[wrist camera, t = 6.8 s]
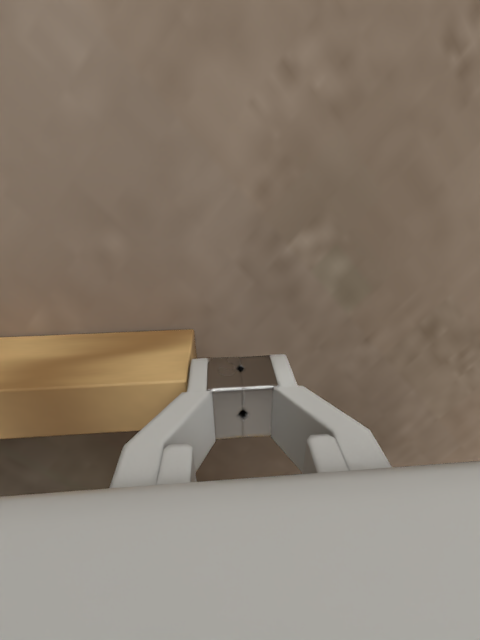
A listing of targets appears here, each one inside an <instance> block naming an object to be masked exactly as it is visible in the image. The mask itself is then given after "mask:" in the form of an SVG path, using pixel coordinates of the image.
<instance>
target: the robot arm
mask: <svg viewBox="0 0 480 640" xmlns="http://www.w3.org/2000/svg"><path fill="white" fill-rule="evenodd" d="M258 436H271V438H272V439H273V440H274V441H275V442H276V444H277V445H278V446H279V447H280V448H281V449H282V450H283V451H284V453H285V454H286V455H287V456H288V457H289V458H290V459H291V460H292V462H293V463H294V464H295V465H296V466H297V467H298V468H299V469H300V471H301V472H302V474H295V475H282V476H268V477H255V478H242V479H228V480H215V481H202V482H197V481H196V471H197V470H198V468H199V467H200V465H201V464H202V462H203V460H204V459H205V457H206V456H207V454H208V452H209V451H210V449H211V448H212V446H213V445H214V443H215V440H217V439H228V438H239V437H258ZM0 640H480V461H471V462H458V463H445V464H432V465H418V466H405V467H391V465H390V463H389V461H388V460H387V458H386V456H385V455H384V453H383V451H382V450H381V448H380V446H379V444H378V443H377V441H376V439H375V438H374V436H373V434H372V433H371V431H370V430H369V429H368V428H366V427H365V426H363V425H362V424H360V423H359V422H357V421H355V420H354V419H352V418H351V417H349V416H348V415H346V414H345V413H343V412H342V411H340V410H339V409H337V408H336V407H334V406H333V405H331V404H330V403H328V402H327V401H325V400H324V399H322V398H321V397H319V396H317V395H316V394H314V393H313V392H311V391H310V390H308V389H307V388H305V387H304V386H298V385H297V383H296V380H295V377H294V375H293V372H292V370H291V367H290V364H289V362H288V359H287V357H286V355H285V354H276V355H267V356H252V357H221V358H195V359H192V360H191V364H190V372H189V379H188V387H187V392H182V393H181V394H180V395H179V396H177V397H176V398H175V399H174V400H173V401H172V402H171V403H170V404H169V405H168V406H167V407H165V408H164V409H163V410H162V411H161V412H160V413H159V414H158V415H157V416H156V417H155V418H153V419H152V420H151V421H150V422H149V423H148V424H147V425H146V426H145V427H144V428H142V429H141V430H140V431H139V432H138V433H137V434H136V435H135V436H134V437H133V438H132V439H130V440H129V441H128V442H127V443H126V444H125V445H124V446H123V449H122V452H121V455H120V458H119V461H118V464H117V467H116V470H115V473H114V475H113V478H112V481H111V484H110V487H109V488H108V489H94V490H81V491H67V492H54V493H40V494H27V495H13V496H0Z"/></svg>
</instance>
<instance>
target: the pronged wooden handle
mask: <svg viewBox="0 0 480 640" xmlns="http://www.w3.org/2000/svg"><path fill="white" fill-rule="evenodd" d="M195 358H197V357H196V346H195V335H194V330H193V329H186V330H163V331H140V332H116V333H93V334H70V335H46V336H23V337H0V439H13V438H29V437H45V436H61V435H77V434H94V433H110V432H126V431H140V430H141V429H142V428H144V427H145V426H146V425H147V424H148V423H149V422H150V421H151V420H152V419H153V418H155V417H156V416H157V415H158V414H159V413H160V412H161V411H162V410H163V409H164V408H165V407H167V406H168V405H169V404H170V403H171V402H172V401H173V400H174V399H175V398H176V397H177V396H179V395H180V394H181V393H182V392H187V387H188V379H189V372H190V364H191V360H192V359H195Z"/></svg>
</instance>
